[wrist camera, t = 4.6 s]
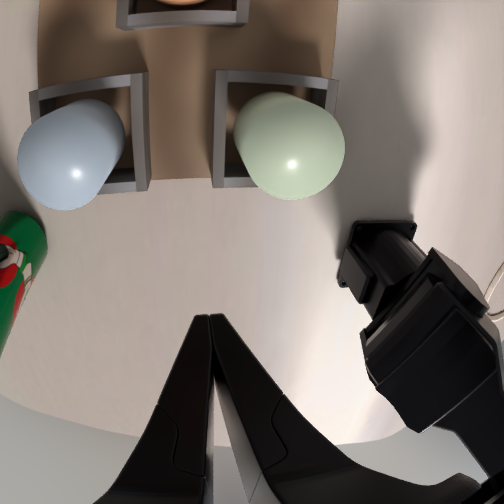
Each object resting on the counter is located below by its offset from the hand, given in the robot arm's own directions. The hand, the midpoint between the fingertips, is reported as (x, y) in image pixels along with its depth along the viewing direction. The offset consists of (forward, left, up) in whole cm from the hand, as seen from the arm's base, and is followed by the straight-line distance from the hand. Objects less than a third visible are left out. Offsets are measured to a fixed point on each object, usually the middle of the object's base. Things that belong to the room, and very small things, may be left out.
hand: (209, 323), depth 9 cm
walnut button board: (+1, -8, -13) cm, 15 cm away
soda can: (+14, +4, -13) cm, 20 cm away
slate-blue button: (+6, -3, -10) cm, 12 cm away
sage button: (-4, -3, -10) cm, 11 cm away
